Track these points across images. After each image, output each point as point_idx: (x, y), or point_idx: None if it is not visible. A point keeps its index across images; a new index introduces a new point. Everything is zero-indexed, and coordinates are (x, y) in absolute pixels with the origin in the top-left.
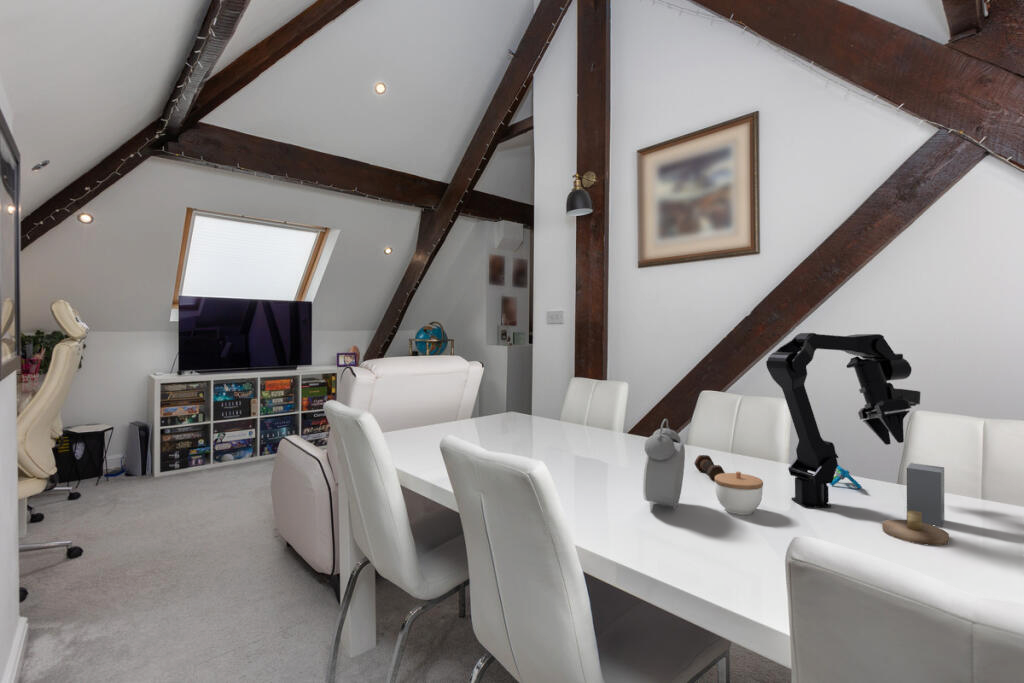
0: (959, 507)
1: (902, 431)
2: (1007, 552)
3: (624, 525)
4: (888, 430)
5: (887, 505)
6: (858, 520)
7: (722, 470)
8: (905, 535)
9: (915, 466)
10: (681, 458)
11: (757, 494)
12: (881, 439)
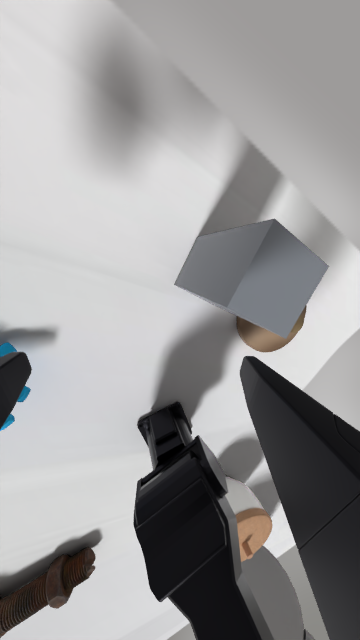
0: (82, 137)
1: (305, 398)
2: (314, 218)
3: (275, 538)
4: (268, 464)
5: (130, 311)
6: (227, 371)
7: (61, 581)
8: (295, 334)
9: (271, 310)
10: (270, 627)
11: (256, 499)
12: (7, 408)
